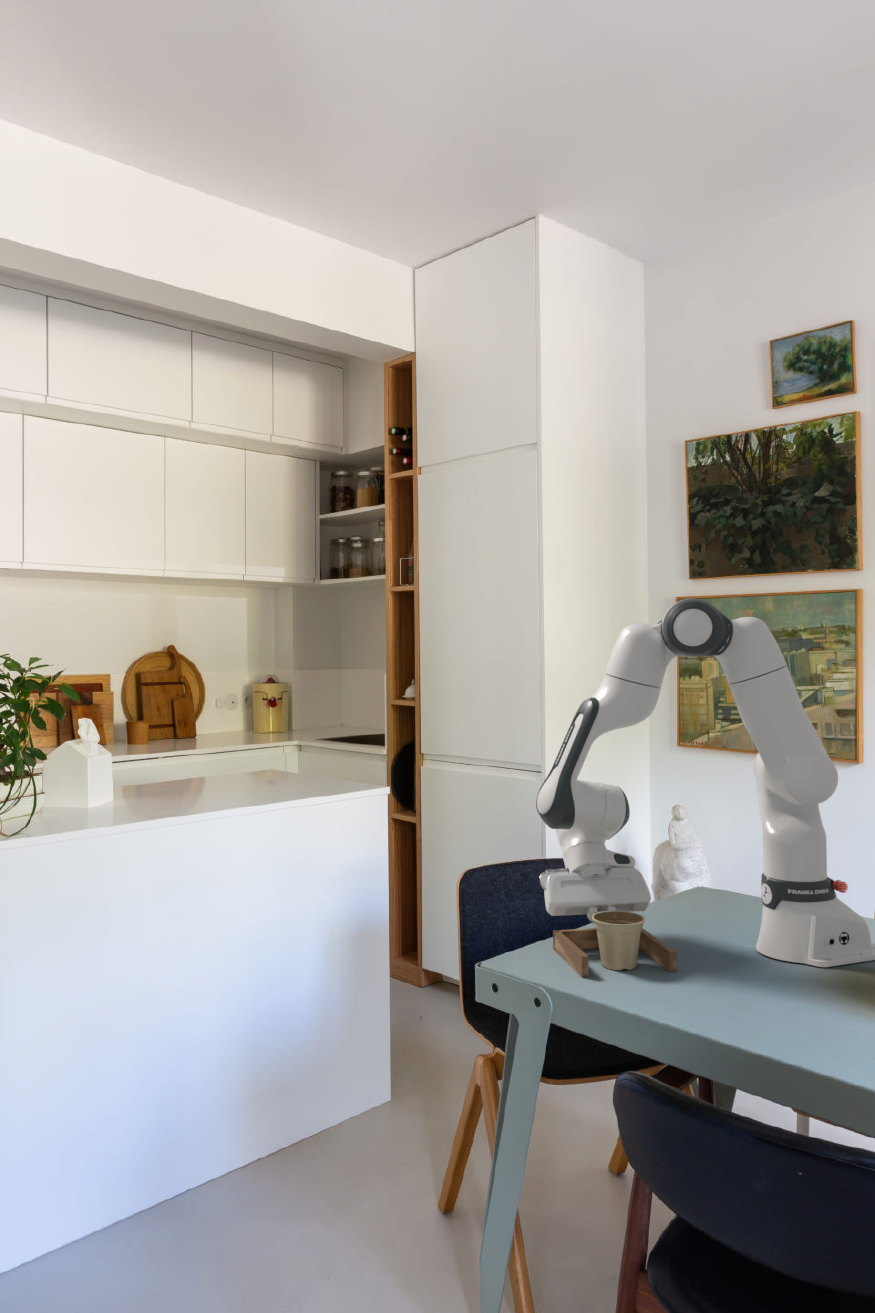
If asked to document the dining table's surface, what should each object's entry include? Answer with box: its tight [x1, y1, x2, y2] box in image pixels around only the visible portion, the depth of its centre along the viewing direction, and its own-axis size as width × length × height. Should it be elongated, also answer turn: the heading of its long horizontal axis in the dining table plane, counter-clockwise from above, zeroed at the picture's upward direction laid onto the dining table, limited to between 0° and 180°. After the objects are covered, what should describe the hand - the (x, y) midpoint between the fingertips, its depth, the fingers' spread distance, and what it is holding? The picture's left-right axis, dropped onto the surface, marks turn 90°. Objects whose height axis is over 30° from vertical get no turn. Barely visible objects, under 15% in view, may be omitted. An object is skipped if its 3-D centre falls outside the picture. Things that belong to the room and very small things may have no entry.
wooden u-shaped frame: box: [552, 927, 677, 978], centre depth 169 cm, size 17×17×4 cm
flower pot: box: [592, 911, 646, 971], centre depth 166 cm, size 9×9×9 cm
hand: (606, 931), depth 172 cm, fingers closed
